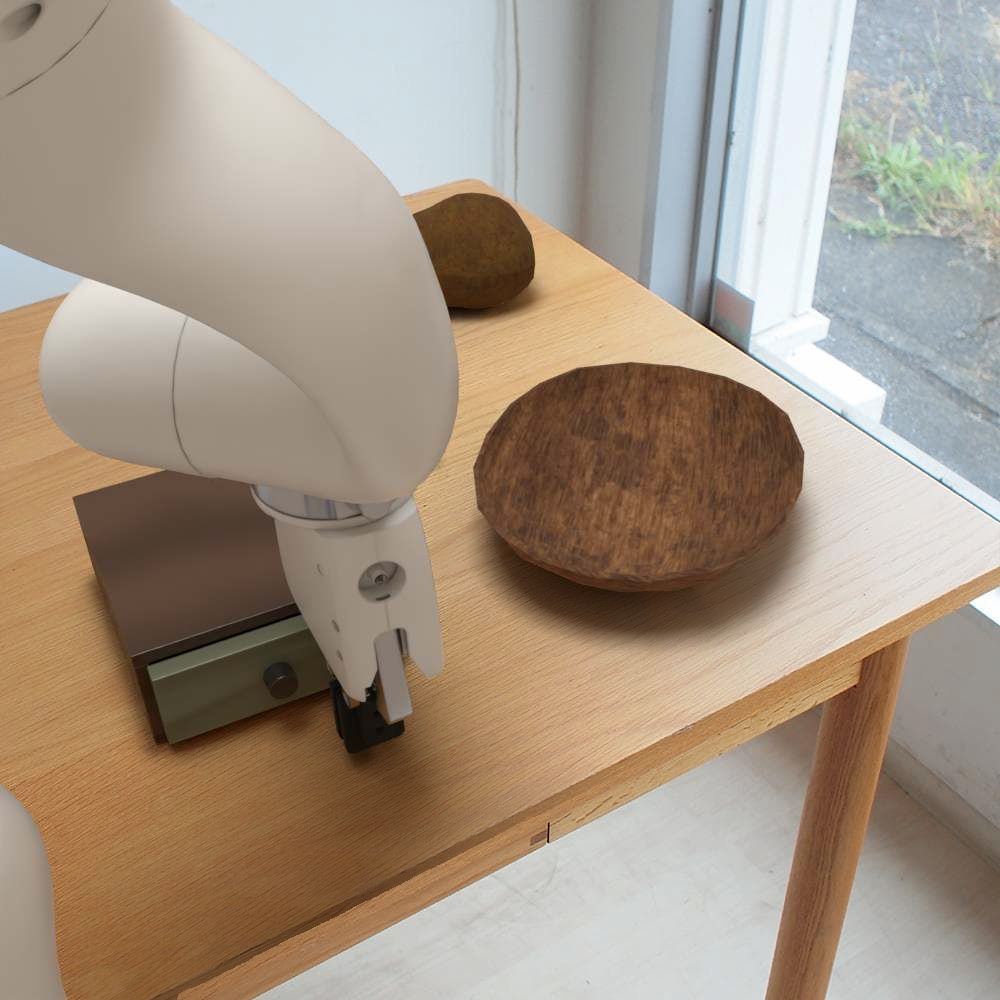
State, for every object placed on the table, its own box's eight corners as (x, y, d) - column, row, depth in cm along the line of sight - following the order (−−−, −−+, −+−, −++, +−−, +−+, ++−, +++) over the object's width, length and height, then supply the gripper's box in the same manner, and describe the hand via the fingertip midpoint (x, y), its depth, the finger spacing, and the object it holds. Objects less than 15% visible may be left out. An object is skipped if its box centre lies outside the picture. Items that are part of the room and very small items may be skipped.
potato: (395, 271, 110) (386, 172, 104) (538, 271, 109) (537, 172, 103) (382, 323, 103) (371, 221, 98) (534, 324, 102) (532, 221, 97)
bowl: (427, 605, 78) (421, 540, 75) (539, 402, 94) (538, 341, 91) (761, 676, 72) (770, 609, 69) (819, 448, 89) (828, 385, 85)
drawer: (399, 680, 72) (391, 616, 69) (175, 761, 68) (157, 697, 65) (310, 527, 82) (300, 466, 79) (112, 590, 78) (94, 527, 75)
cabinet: (394, 660, 74) (384, 572, 70) (156, 745, 70) (130, 657, 66) (308, 515, 85) (295, 431, 81) (97, 581, 80) (71, 496, 76)
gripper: (485, 519, 53) (499, 810, 65) (351, 348, 64) (383, 623, 75) (309, 578, 51) (356, 869, 62) (200, 390, 61) (257, 668, 73)
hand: (371, 734), depth 69 cm, fingers closed
